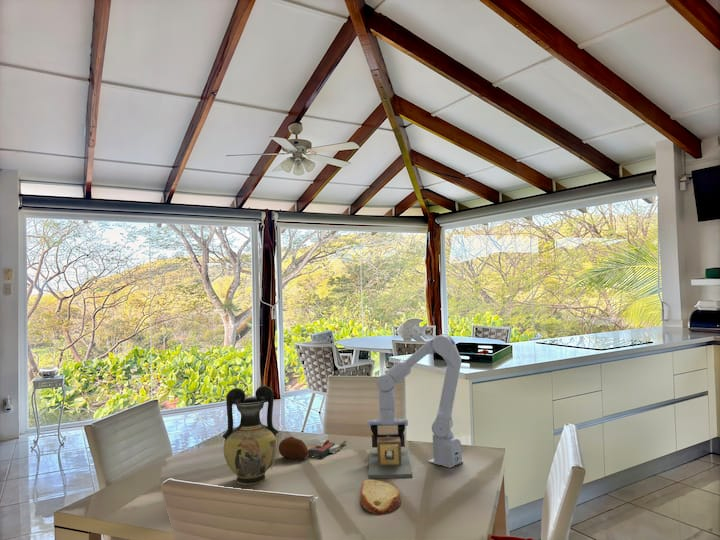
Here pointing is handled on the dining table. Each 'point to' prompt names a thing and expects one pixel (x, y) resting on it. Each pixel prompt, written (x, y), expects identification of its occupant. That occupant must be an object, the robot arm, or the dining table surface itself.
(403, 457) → the mat
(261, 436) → the amphora
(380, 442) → the bearing block
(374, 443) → the grey and silver t-piece
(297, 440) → the potato
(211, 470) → the dining table surface
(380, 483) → the slice of bread
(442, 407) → the robot arm
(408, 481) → the dining table surface
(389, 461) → the collar
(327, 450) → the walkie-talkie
